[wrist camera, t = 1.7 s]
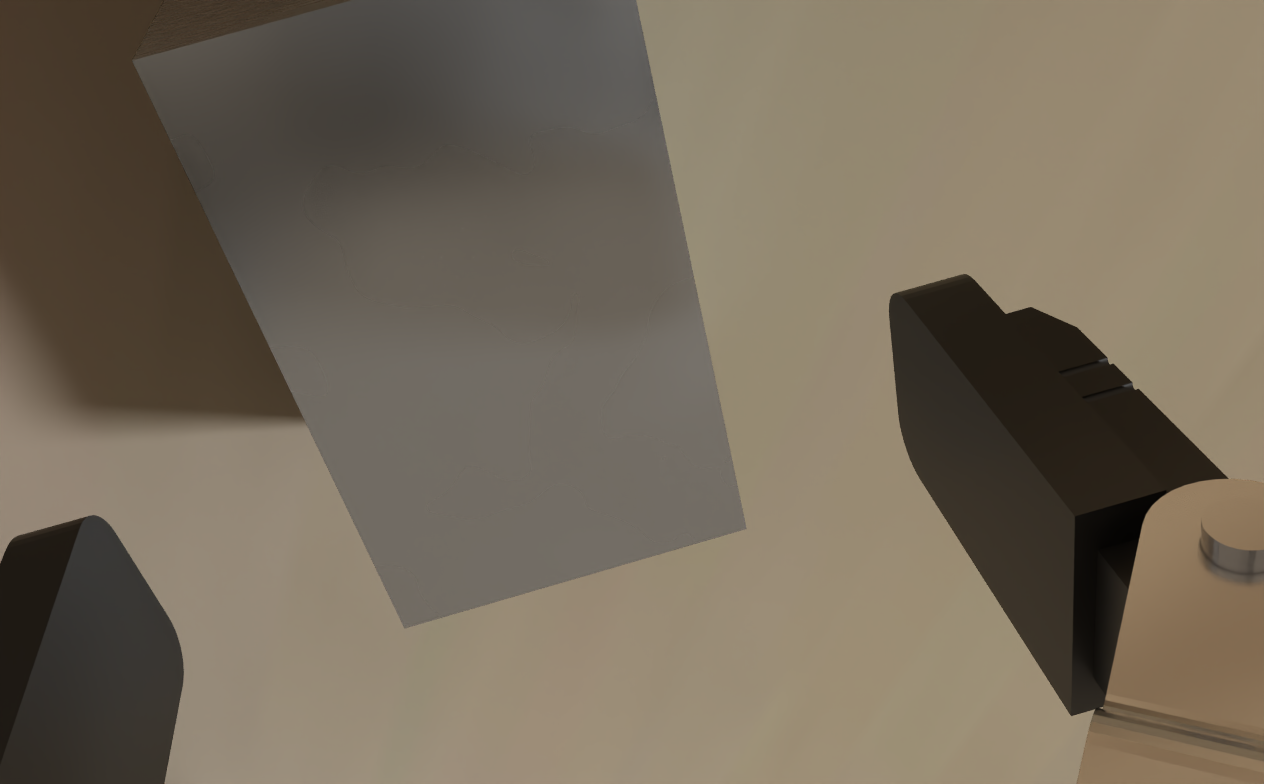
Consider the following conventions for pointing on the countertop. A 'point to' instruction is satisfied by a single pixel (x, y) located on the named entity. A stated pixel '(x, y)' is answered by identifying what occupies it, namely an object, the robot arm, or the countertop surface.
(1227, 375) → the countertop surface
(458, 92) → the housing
